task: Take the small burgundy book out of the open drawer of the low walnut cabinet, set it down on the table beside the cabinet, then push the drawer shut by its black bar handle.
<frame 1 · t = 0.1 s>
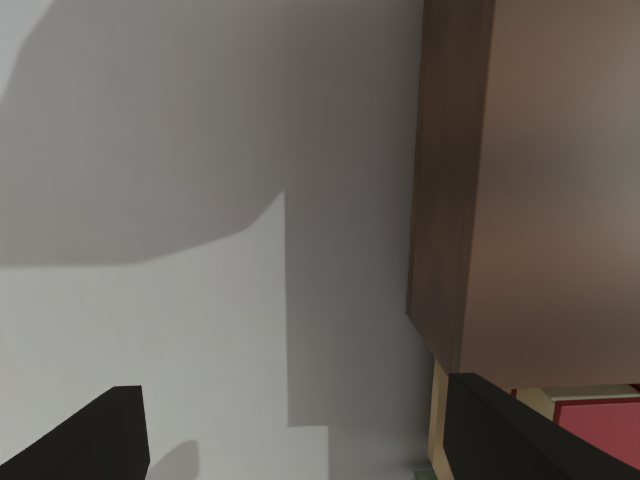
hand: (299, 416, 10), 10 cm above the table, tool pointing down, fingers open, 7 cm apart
book: (551, 413, 20), point 2 cm above the table, touching drawer
cabinet: (562, 165, 19), on the table
drawer: (567, 439, 19), point 3 cm above the table, slide at 8.5 cm, touching book
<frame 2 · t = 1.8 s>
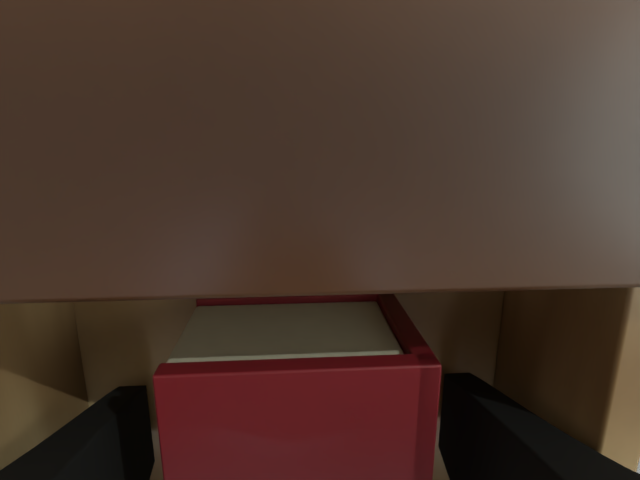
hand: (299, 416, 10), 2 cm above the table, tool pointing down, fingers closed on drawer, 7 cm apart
book: (298, 403, 10), point 2 cm above the table, touching drawer
drawer: (299, 455, 9), point 3 cm above the table, slide at 8.5 cm, touching book, gripper
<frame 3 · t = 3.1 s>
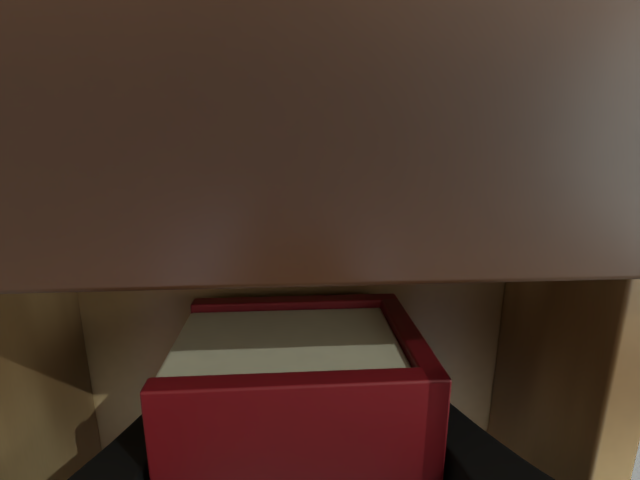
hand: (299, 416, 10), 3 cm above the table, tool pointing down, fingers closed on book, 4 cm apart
book: (297, 413, 10), point 2 cm above the table, touching gripper
drawer: (301, 446, 9), point 3 cm above the table, slide at 8.5 cm
when the fingers open (0 cm above the table, at t = 8.2 s): book stays where it is, on the table.
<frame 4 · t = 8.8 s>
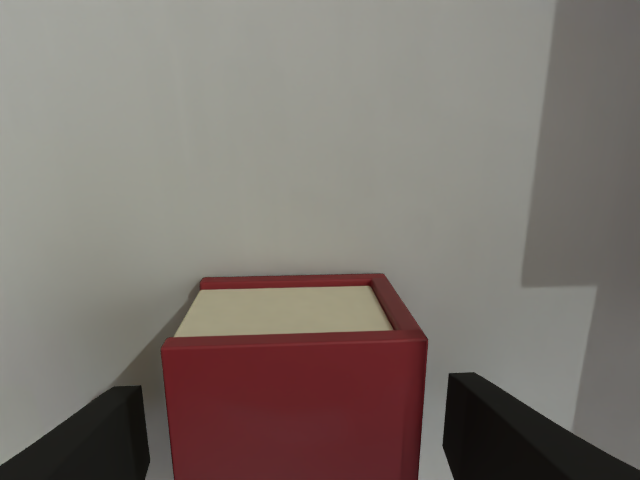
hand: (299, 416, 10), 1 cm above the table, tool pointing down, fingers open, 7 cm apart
book: (296, 383, 11), on the table
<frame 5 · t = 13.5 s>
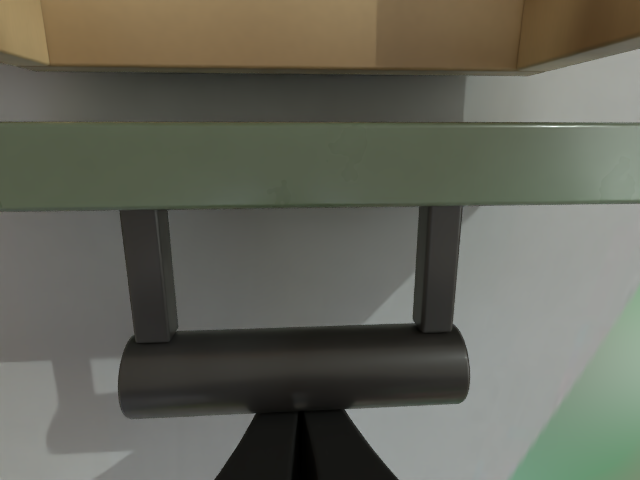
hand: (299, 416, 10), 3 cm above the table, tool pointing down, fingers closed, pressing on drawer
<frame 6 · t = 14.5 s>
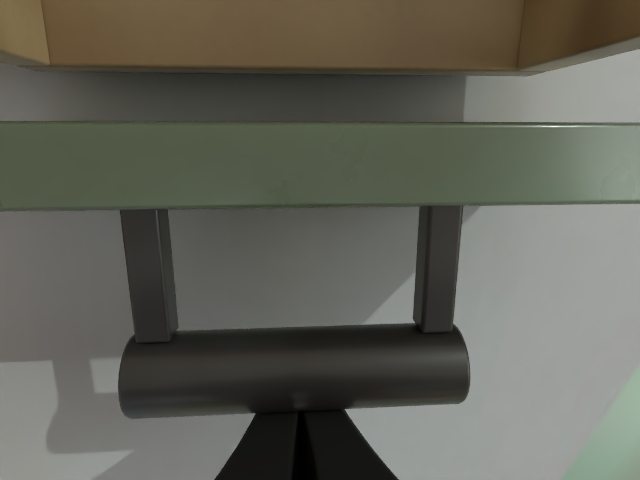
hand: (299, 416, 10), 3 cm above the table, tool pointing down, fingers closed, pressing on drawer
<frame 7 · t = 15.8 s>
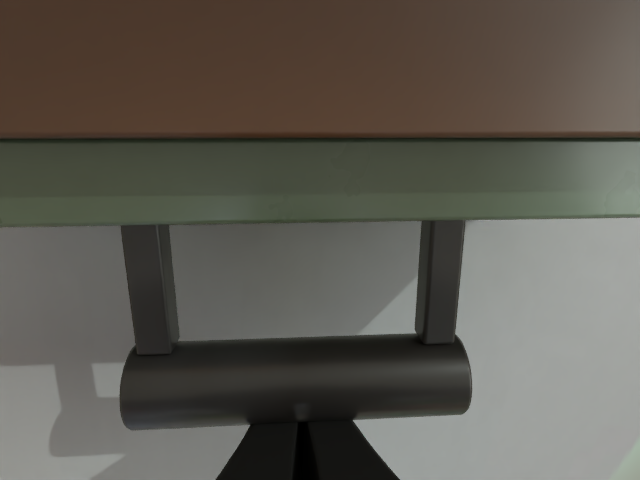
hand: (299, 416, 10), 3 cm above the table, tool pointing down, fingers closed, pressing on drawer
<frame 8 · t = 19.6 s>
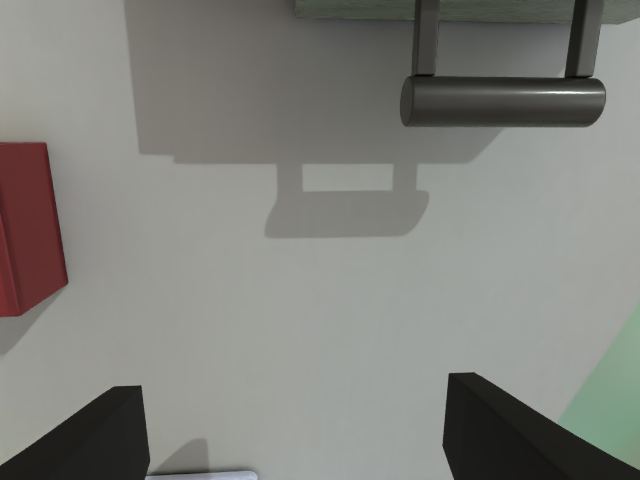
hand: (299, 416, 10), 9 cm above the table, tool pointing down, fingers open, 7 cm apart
book: (3, 216, 17), on the table
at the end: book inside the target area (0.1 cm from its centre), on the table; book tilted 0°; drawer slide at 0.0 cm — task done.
